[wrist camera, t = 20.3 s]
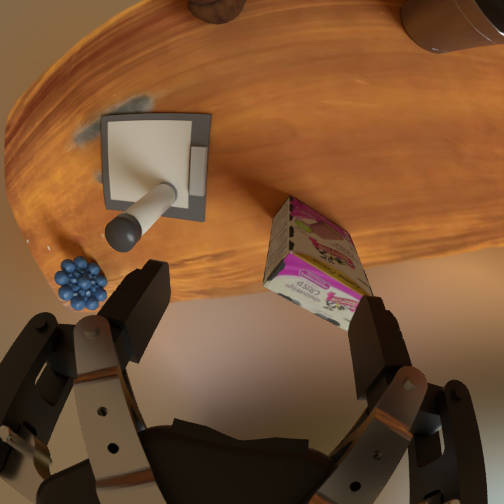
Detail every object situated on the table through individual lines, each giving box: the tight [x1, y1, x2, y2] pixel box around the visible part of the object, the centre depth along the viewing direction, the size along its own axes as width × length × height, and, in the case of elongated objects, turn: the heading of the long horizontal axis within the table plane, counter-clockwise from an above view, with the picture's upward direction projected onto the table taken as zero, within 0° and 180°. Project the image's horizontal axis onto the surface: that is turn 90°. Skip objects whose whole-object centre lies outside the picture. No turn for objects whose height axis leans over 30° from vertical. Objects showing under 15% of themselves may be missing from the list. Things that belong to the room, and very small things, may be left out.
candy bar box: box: [263, 195, 373, 331], centre depth 32 cm, size 11×5×16 cm, turn 60°
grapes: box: [55, 256, 107, 310], centre depth 44 cm, size 12×7×12 cm, turn 27°
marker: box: [105, 182, 178, 252], centre depth 32 cm, size 4×4×14 cm
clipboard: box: [101, 113, 212, 222], centre depth 37 cm, size 16×18×2 cm
